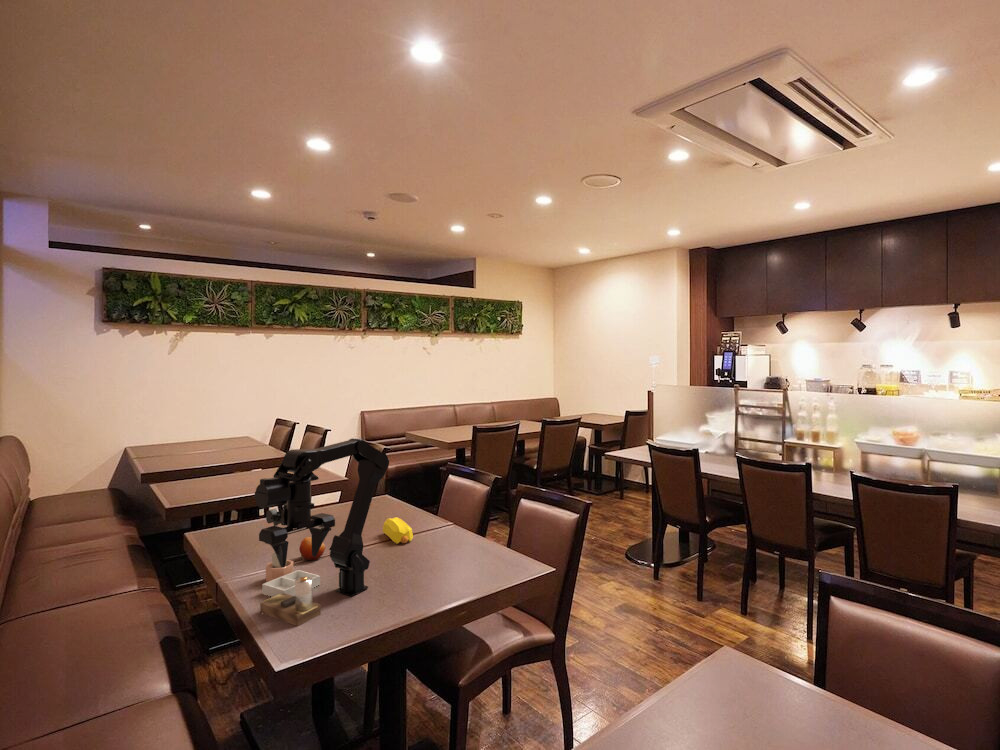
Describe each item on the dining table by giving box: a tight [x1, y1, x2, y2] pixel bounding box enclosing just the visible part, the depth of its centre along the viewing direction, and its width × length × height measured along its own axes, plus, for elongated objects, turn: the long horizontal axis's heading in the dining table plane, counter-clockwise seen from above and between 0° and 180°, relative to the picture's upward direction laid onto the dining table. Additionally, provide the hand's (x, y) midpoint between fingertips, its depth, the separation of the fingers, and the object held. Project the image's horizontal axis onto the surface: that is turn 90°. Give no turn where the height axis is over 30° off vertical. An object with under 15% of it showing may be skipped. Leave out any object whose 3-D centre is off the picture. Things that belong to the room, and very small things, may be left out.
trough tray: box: [262, 569, 321, 598], centre depth 149 cm, size 9×12×3 cm
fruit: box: [299, 536, 326, 562], centre depth 174 cm, size 8×8×8 cm
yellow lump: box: [382, 516, 414, 545], centre depth 195 cm, size 18×7×8 cm
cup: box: [265, 559, 295, 583], centre depth 156 cm, size 7×7×5 cm
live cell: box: [295, 577, 313, 612], centre depth 132 cm, size 4×4×8 cm
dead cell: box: [271, 552, 288, 568], centre depth 156 cm, size 4×4×8 cm
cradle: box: [259, 593, 322, 627], centre depth 134 cm, size 15×7×4 cm, turn 60°
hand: (298, 561), depth 135 cm, fingers open, 9 cm apart
